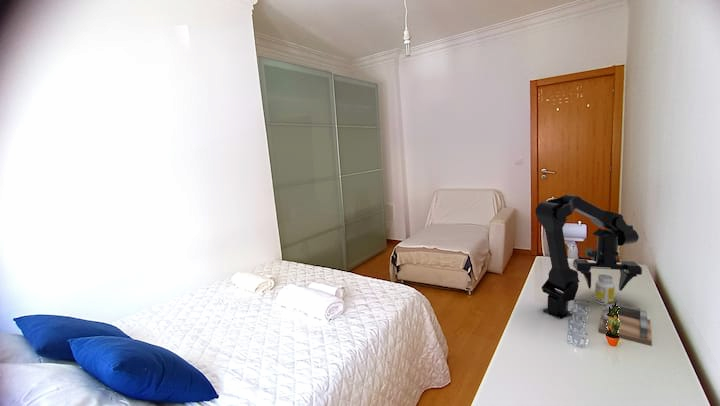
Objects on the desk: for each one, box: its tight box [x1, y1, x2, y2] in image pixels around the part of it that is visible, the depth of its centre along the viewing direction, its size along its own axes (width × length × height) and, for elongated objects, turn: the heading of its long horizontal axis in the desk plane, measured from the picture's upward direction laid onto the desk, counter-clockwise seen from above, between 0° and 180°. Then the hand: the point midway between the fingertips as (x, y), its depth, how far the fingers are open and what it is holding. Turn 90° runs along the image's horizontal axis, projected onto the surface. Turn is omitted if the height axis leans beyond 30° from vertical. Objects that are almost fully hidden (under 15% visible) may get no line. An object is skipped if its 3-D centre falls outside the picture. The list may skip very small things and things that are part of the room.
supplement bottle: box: [594, 274, 615, 306], centre depth 114 cm, size 5×5×10 cm
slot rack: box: [598, 303, 653, 346], centre depth 99 cm, size 14×12×4 cm
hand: (604, 289), depth 114 cm, fingers open, 9 cm apart
